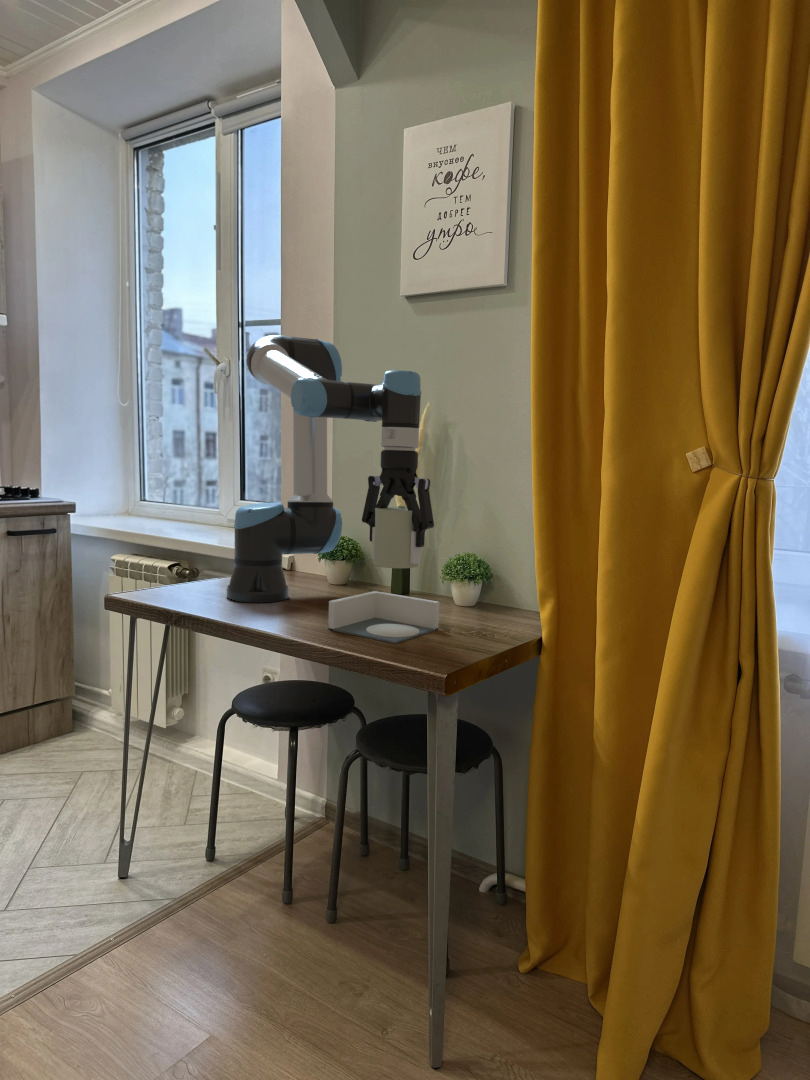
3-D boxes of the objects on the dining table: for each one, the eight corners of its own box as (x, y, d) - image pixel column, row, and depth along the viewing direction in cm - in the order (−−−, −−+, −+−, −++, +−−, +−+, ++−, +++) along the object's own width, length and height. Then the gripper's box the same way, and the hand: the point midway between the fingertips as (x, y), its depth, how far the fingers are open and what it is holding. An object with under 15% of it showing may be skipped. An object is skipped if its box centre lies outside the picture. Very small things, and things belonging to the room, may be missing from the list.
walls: (328, 629, 154) (328, 601, 153) (373, 617, 167) (374, 591, 166) (395, 643, 144) (396, 613, 144) (438, 629, 158) (439, 601, 157)
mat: (328, 629, 154) (328, 626, 154) (373, 617, 167) (374, 614, 167) (395, 643, 144) (395, 640, 144) (438, 629, 158) (438, 626, 157)
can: (423, 563, 154) (425, 506, 153) (410, 569, 146) (412, 509, 144) (381, 560, 157) (383, 504, 156) (366, 566, 148) (368, 506, 147)
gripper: (345, 447, 152) (342, 556, 154) (435, 450, 140) (430, 568, 142) (367, 448, 158) (364, 553, 160) (455, 451, 146) (450, 564, 148)
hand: (395, 560), depth 151 cm, fingers closed on can, 9 cm apart
